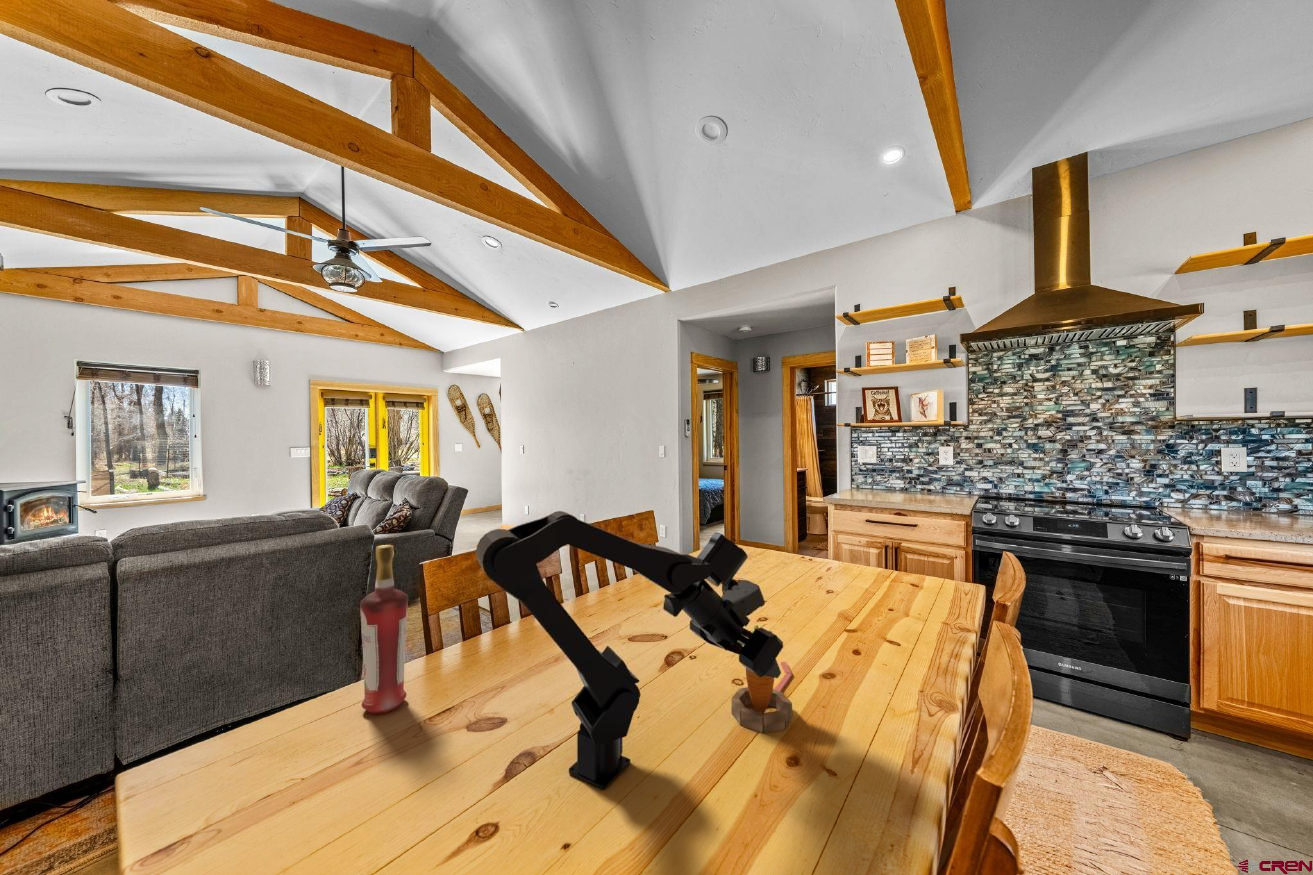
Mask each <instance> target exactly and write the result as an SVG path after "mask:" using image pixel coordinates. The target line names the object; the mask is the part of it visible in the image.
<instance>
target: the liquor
mask: <svg viewBox="0 0 1313 875" xmlns="http://www.w3.org/2000/svg"><path fill="white" fill-rule="evenodd" d="M375 559H376V565H377V566H376V575H375V586H374V591H373V592H371V593H369V594H367V595H366V596H365V597H364V598H363V599H362V600H361V601H360V602H359V606H360V607H359V608H360V626H361V628H360V630H361V632H360V633H361V644H362V655H363V657H362V658H363V681H364V682H363V686H364V698H363V700H362V702H361V708H362V709H364V710H366V711H367V712H369V713H371V714H373V715H383V714H387V713H391V712H392V711H394V710H396V709H397V708H398V707H399V706H400V705H401V704H402V703H403V701H405V699H406V698H407V696H408V694H407V692H406V691H405V660H406V641H407V640H406V639H407V627H408V626H407V625H408V607H409V606H408V604H409V595H408V594H407V593H406V592H404V591H402V589H401V590H400V589H397V588H395V582H394V574H393V573H394V572H393V559H394V545H393V544H385V545H384V544H382V545H377V546H376V547H375Z"/></svg>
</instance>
